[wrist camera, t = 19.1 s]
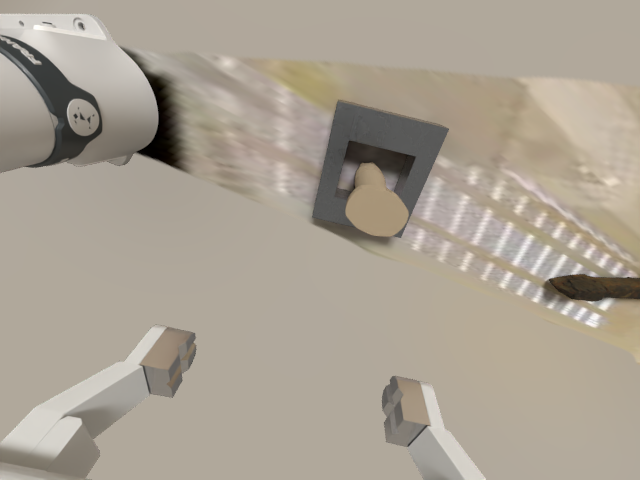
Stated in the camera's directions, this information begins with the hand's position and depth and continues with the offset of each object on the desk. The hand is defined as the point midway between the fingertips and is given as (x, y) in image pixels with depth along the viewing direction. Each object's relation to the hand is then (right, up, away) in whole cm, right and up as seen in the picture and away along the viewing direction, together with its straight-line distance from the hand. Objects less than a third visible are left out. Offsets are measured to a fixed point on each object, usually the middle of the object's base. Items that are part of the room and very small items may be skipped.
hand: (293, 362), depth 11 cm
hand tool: (+51, -2, +35) cm, 62 cm away
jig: (+9, +16, +29) cm, 34 cm away
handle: (+8, +15, +29) cm, 34 cm away
